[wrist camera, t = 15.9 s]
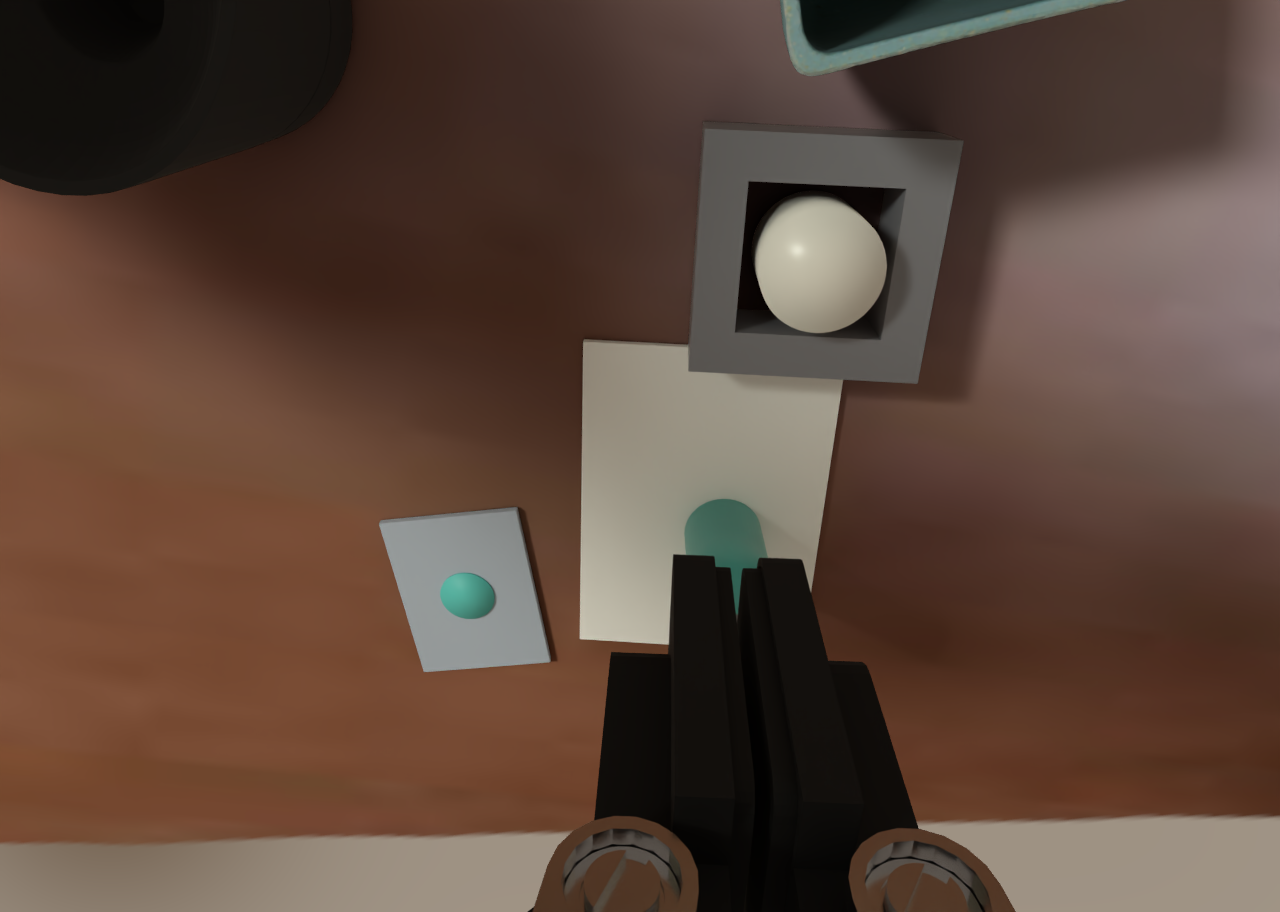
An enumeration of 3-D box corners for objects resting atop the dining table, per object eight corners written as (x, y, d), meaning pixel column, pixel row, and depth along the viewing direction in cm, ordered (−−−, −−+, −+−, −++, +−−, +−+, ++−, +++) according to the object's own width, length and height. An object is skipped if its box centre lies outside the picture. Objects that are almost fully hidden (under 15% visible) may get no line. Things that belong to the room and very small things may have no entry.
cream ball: (757, 187, 30) (766, 204, 26) (873, 193, 29) (896, 210, 26) (746, 301, 31) (753, 329, 28) (856, 307, 31) (876, 336, 28)
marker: (687, 492, 35) (700, 642, 26) (769, 501, 35) (811, 653, 26) (677, 563, 37) (685, 730, 27) (755, 571, 37) (791, 740, 27)
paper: (584, 339, 33) (583, 341, 33) (845, 352, 33) (846, 355, 32) (580, 634, 39) (579, 638, 39) (800, 648, 39) (801, 652, 38)
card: (381, 520, 37) (378, 525, 37) (517, 507, 36) (515, 511, 36) (425, 667, 40) (423, 673, 40) (551, 657, 40) (549, 663, 39)
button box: (703, 121, 29) (704, 128, 27) (937, 132, 29) (963, 140, 26) (688, 345, 33) (688, 371, 30) (898, 355, 33) (917, 383, 30)
